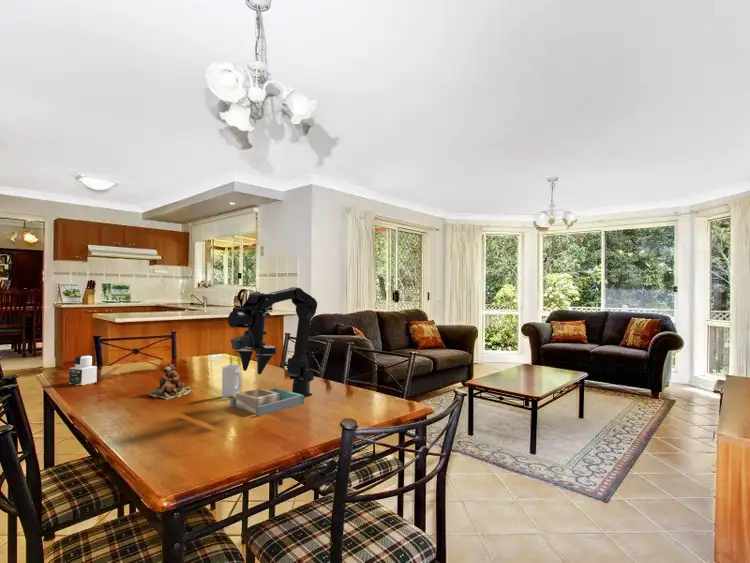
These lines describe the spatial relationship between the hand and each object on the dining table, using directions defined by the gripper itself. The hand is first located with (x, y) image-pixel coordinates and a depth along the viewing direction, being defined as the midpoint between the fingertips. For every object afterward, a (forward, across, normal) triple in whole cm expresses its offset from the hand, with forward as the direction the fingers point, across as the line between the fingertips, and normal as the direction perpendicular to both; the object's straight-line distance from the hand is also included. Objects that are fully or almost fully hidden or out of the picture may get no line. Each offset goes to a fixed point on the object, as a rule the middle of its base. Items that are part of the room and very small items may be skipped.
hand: (251, 372), depth 147 cm
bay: (+13, +2, +7) cm, 14 cm away
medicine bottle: (+15, -84, -29) cm, 90 cm away
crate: (+12, +2, +2) cm, 12 cm away
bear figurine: (+14, -41, -10) cm, 45 cm away
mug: (+13, -19, +5) cm, 23 cm away
